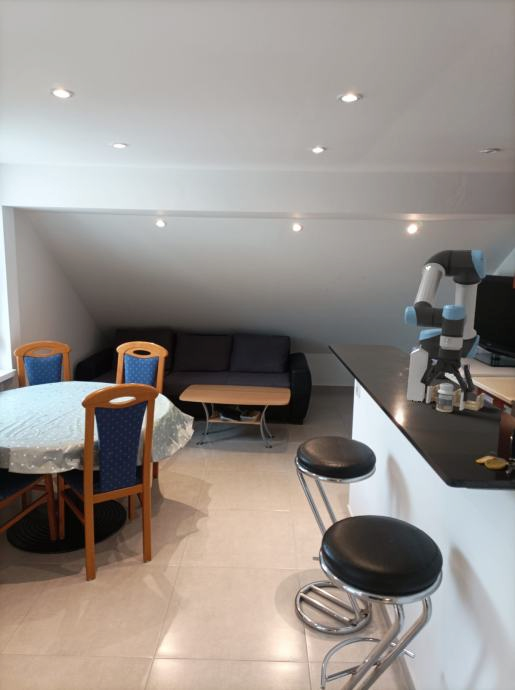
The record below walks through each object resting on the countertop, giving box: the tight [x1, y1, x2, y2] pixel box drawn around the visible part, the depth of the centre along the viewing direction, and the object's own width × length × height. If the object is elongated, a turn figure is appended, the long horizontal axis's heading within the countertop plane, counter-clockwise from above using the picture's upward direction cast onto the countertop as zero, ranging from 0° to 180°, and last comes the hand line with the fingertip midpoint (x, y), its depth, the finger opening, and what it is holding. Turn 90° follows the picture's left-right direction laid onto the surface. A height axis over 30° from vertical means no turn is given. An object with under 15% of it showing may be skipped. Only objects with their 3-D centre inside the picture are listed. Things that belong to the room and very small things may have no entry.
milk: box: [406, 345, 428, 403], centre depth 179 cm, size 6×6×22 cm
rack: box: [431, 384, 485, 411], centre depth 176 cm, size 8×18×5 cm, turn 49°
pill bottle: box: [435, 382, 454, 413], centre depth 166 cm, size 6×6×10 cm
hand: (444, 405), depth 166 cm, fingers open, 11 cm apart
